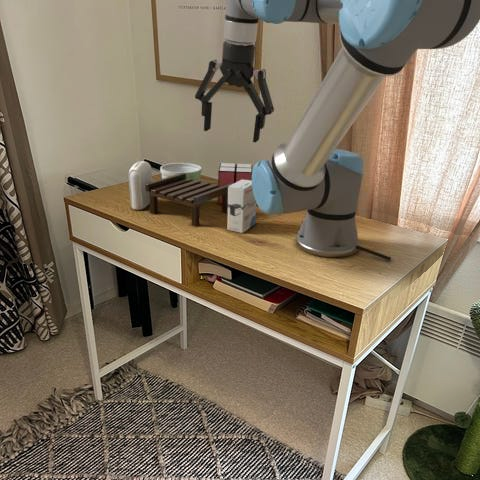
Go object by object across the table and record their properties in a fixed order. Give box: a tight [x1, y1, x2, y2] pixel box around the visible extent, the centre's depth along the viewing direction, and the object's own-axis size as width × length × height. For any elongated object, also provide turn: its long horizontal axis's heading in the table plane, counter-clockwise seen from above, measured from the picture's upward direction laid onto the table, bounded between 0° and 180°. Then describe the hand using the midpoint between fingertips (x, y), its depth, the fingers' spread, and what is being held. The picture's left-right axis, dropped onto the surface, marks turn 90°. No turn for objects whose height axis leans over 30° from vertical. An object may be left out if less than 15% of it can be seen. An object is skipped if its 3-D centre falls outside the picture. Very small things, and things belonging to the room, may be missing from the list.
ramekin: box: [159, 162, 203, 181], centre depth 157 cm, size 13×13×7 cm
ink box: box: [226, 179, 257, 234], centre depth 128 cm, size 8×5×12 cm, turn 154°
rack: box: [145, 173, 232, 227], centre depth 137 cm, size 19×16×8 cm
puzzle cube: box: [217, 162, 253, 205], centre depth 148 cm, size 10×10×10 cm
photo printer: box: [128, 160, 153, 211], centre depth 140 cm, size 10×4×12 cm, turn 170°
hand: (231, 135), depth 125 cm, fingers open, 13 cm apart
